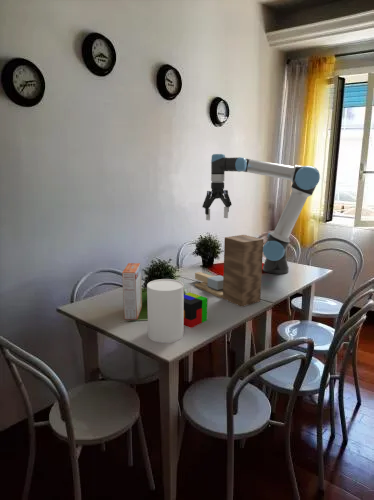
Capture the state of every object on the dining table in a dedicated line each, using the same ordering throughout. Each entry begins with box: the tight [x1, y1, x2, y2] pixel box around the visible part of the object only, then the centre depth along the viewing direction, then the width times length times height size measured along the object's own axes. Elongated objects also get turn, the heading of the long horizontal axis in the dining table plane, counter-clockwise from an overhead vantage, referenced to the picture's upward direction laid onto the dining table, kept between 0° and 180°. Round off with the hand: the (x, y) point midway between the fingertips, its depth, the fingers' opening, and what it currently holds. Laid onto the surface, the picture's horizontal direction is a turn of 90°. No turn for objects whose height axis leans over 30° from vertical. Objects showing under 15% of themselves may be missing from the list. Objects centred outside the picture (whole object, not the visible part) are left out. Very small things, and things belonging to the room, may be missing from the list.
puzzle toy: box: [184, 292, 208, 329], centre depth 155 cm, size 10×10×10 cm
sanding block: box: [194, 271, 224, 291], centre depth 198 cm, size 8×22×5 cm, turn 35°
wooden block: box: [222, 234, 264, 308], centre depth 177 cm, size 12×13×30 cm
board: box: [194, 281, 223, 299], centre depth 194 cm, size 13×21×1 cm, turn 35°
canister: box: [146, 278, 185, 344], centre depth 142 cm, size 14×14×20 cm
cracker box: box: [121, 262, 143, 321], centre depth 161 cm, size 14×6×21 cm, turn 178°
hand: (217, 219), depth 219 cm, fingers open, 13 cm apart
